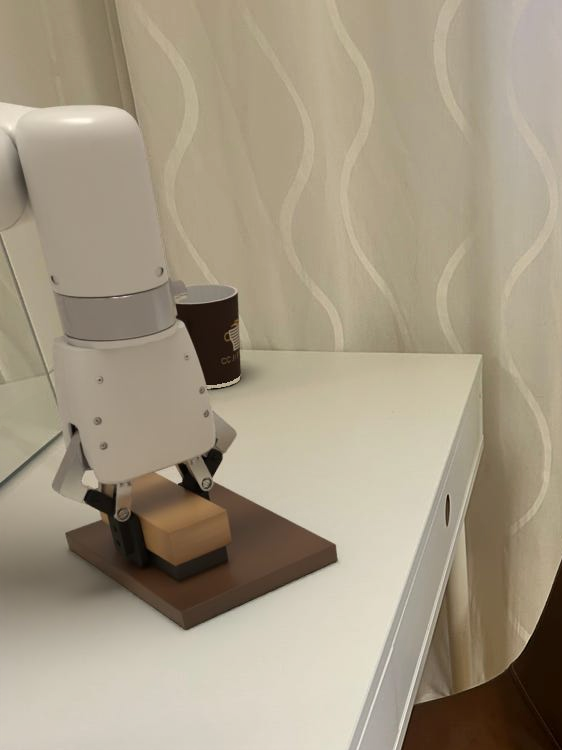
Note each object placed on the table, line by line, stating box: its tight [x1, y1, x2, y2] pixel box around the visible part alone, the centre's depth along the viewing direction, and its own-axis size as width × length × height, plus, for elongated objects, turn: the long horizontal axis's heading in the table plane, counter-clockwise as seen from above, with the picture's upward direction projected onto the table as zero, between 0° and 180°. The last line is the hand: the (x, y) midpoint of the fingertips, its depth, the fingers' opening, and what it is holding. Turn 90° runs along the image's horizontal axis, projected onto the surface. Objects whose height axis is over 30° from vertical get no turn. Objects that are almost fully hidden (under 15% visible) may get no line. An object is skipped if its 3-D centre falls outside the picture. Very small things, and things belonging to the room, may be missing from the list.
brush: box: [95, 472, 232, 581], centre depth 75 cm, size 11×5×4 cm, turn 46°
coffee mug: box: [176, 283, 242, 385], centre depth 111 cm, size 12×9×10 cm
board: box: [64, 481, 338, 630], centre depth 79 cm, size 18×14×2 cm
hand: (167, 544), depth 76 cm, fingers closed on brush, 5 cm apart
